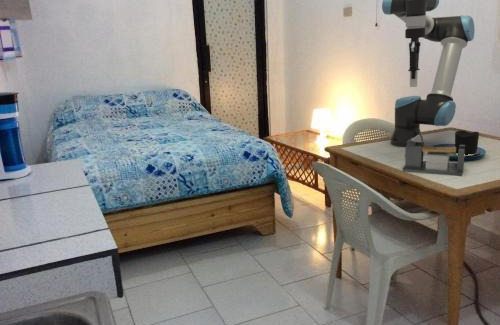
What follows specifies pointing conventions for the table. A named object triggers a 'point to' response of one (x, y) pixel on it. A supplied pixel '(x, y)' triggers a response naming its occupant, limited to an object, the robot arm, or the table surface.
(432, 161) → the base
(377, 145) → the table surface
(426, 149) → the strap
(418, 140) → the electrical switch
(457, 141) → the pen holder
